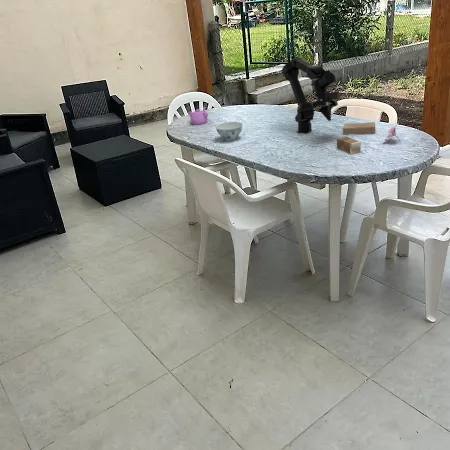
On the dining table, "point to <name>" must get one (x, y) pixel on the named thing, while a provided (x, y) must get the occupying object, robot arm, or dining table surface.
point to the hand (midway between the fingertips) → (329, 120)
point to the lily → (392, 132)
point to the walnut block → (349, 145)
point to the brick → (359, 128)
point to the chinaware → (229, 130)
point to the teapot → (198, 117)
